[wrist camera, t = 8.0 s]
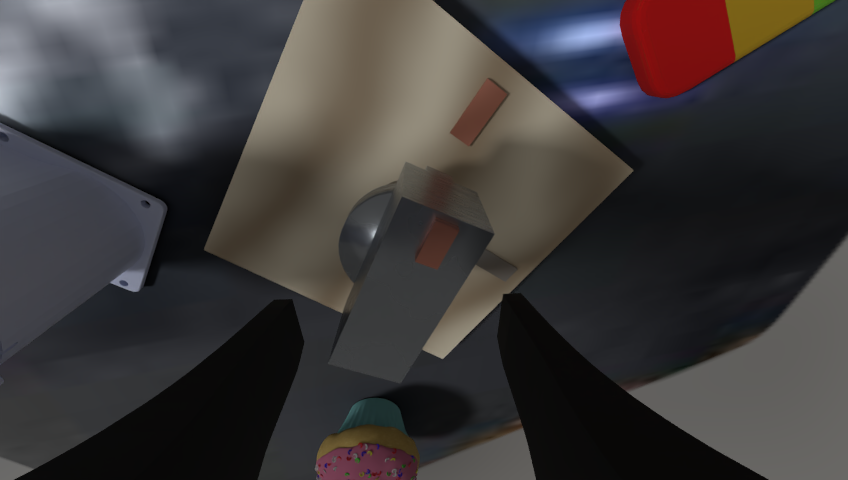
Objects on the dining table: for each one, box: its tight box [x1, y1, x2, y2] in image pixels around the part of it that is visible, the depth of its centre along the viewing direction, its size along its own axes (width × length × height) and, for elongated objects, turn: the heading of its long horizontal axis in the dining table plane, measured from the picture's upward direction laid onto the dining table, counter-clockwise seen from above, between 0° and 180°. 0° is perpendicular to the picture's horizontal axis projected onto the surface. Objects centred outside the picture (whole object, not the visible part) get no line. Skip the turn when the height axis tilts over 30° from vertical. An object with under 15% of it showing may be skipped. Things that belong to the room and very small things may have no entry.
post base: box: [204, 0, 634, 359], centre depth 18 cm, size 18×18×4 cm
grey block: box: [328, 162, 495, 383], centre depth 14 cm, size 8×6×5 cm
